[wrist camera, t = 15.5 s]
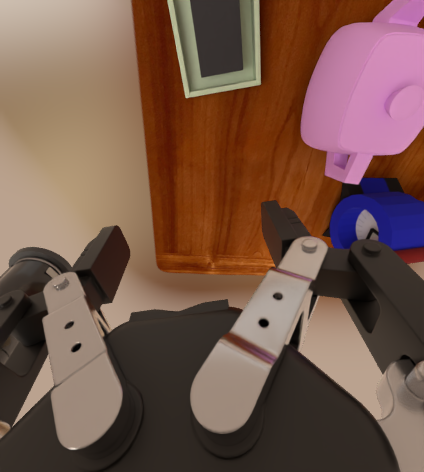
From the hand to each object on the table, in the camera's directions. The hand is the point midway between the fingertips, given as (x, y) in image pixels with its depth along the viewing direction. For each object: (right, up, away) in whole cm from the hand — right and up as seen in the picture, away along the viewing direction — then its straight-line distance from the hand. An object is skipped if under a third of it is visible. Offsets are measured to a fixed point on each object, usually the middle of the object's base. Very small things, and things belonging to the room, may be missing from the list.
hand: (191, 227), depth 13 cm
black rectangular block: (+1, +25, +13) cm, 28 cm away
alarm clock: (+29, +5, +30) cm, 42 cm away
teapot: (+19, +20, +19) cm, 33 cm away
